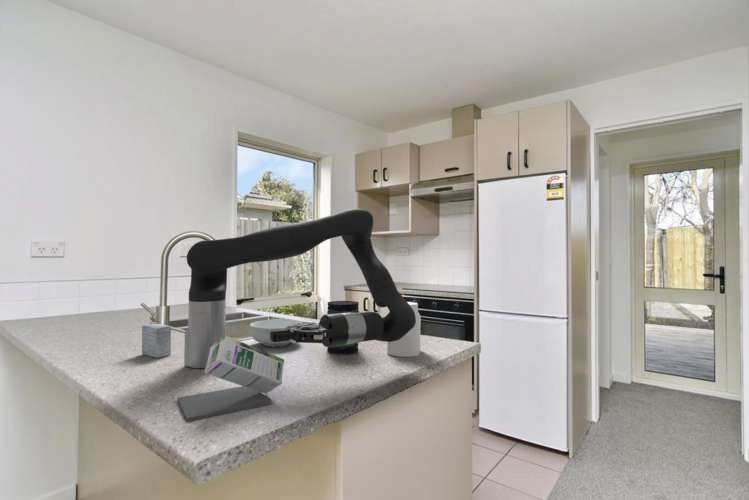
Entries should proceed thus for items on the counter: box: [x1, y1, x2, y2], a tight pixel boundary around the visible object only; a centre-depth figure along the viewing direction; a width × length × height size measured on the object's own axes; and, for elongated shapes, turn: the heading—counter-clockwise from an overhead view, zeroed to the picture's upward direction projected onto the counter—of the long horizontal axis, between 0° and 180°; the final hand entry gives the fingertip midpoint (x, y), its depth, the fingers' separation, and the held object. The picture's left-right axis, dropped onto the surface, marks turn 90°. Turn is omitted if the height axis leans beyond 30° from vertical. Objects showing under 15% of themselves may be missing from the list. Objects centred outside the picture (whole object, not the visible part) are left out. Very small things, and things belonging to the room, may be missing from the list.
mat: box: [177, 385, 271, 422], centre depth 78 cm, size 15×12×1 cm
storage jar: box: [326, 300, 360, 355], centre depth 122 cm, size 10×10×15 cm
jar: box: [386, 301, 422, 358], centre depth 121 cm, size 12×10×15 cm
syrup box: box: [204, 335, 285, 394], centre depth 80 cm, size 6×6×14 cm
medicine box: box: [141, 323, 172, 359], centre depth 115 cm, size 8×4×9 cm, turn 58°
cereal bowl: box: [249, 318, 303, 347], centre depth 130 cm, size 17×17×7 cm
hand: (271, 336), depth 84 cm, fingers closed
